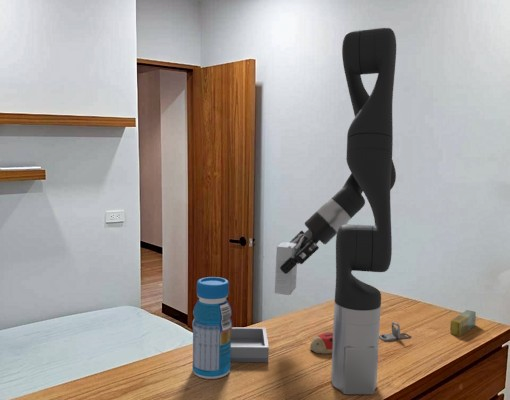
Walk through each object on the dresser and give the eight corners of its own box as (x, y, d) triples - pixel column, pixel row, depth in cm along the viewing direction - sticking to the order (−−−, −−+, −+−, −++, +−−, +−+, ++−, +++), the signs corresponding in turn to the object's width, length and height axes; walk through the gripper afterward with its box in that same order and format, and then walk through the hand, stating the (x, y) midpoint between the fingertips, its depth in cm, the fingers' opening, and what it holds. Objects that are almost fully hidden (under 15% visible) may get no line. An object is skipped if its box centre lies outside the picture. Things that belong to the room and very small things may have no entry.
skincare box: (280, 287, 127) (281, 241, 126) (297, 288, 126) (298, 242, 125) (274, 293, 121) (275, 245, 120) (291, 295, 120) (292, 247, 119)
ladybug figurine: (304, 348, 120) (304, 334, 119) (335, 340, 125) (335, 327, 124) (321, 358, 114) (322, 343, 113) (353, 350, 119) (353, 336, 119)
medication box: (465, 323, 140) (466, 309, 139) (475, 325, 138) (476, 311, 137) (449, 334, 131) (450, 320, 130) (460, 337, 129) (460, 322, 128)
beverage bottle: (195, 382, 100) (196, 287, 98) (188, 364, 108) (189, 276, 106) (235, 378, 103) (237, 285, 100) (226, 360, 111) (227, 274, 109)
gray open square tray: (268, 362, 111) (268, 347, 110) (215, 361, 110) (215, 346, 110) (265, 341, 123) (265, 327, 122) (217, 340, 122) (217, 327, 122)
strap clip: (384, 343, 124) (385, 327, 124) (377, 338, 127) (378, 322, 126) (412, 339, 127) (413, 323, 127) (404, 334, 130) (405, 319, 129)
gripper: (311, 207, 129) (266, 250, 129) (324, 215, 115) (273, 264, 115) (330, 226, 130) (285, 270, 130) (345, 237, 116) (295, 285, 116)
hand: (280, 267), depth 123 cm, fingers closed on skincare box, 7 cm apart
